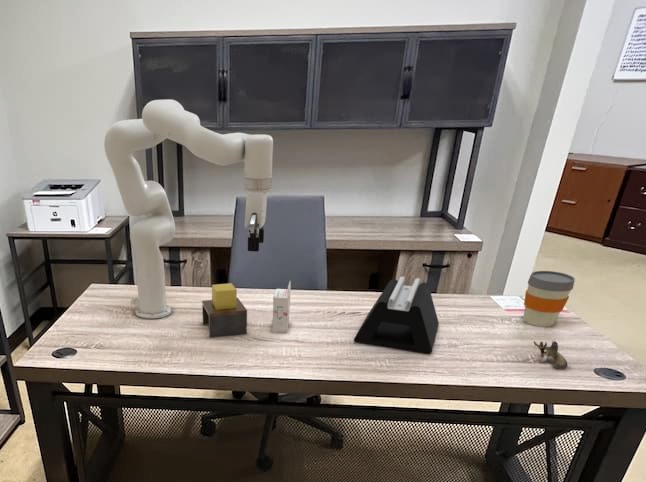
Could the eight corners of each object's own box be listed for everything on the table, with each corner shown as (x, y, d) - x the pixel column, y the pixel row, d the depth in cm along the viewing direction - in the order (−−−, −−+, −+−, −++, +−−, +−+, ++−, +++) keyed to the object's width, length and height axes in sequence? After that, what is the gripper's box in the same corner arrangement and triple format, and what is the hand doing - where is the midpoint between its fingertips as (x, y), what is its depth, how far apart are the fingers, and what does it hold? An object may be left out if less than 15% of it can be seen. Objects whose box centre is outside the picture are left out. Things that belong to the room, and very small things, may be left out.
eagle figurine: (524, 353, 151) (549, 361, 143) (539, 331, 150) (565, 338, 141) (541, 365, 154) (567, 373, 145) (557, 343, 152) (583, 351, 144)
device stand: (438, 326, 172) (448, 281, 164) (431, 354, 154) (441, 305, 146) (367, 316, 180) (374, 273, 172) (353, 342, 162) (359, 295, 155)
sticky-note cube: (216, 309, 166) (216, 291, 163) (212, 302, 171) (211, 284, 168) (236, 308, 167) (236, 289, 164) (231, 301, 172) (231, 283, 169)
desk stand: (209, 337, 167) (209, 313, 163) (202, 323, 177) (202, 300, 173) (246, 334, 169) (247, 310, 165) (237, 320, 179) (237, 297, 175)
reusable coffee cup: (551, 331, 167) (567, 285, 159) (510, 321, 175) (523, 276, 167) (566, 321, 174) (582, 276, 166) (526, 311, 182) (539, 268, 174)
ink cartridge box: (274, 322, 177) (276, 279, 170) (288, 323, 176) (291, 279, 169) (271, 332, 170) (273, 287, 162) (286, 333, 169) (289, 288, 162)
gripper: (249, 179, 155) (247, 239, 164) (239, 189, 141) (238, 254, 149) (274, 180, 154) (272, 240, 162) (267, 190, 139) (264, 255, 148)
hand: (255, 246), depth 156 cm, fingers open, 9 cm apart
